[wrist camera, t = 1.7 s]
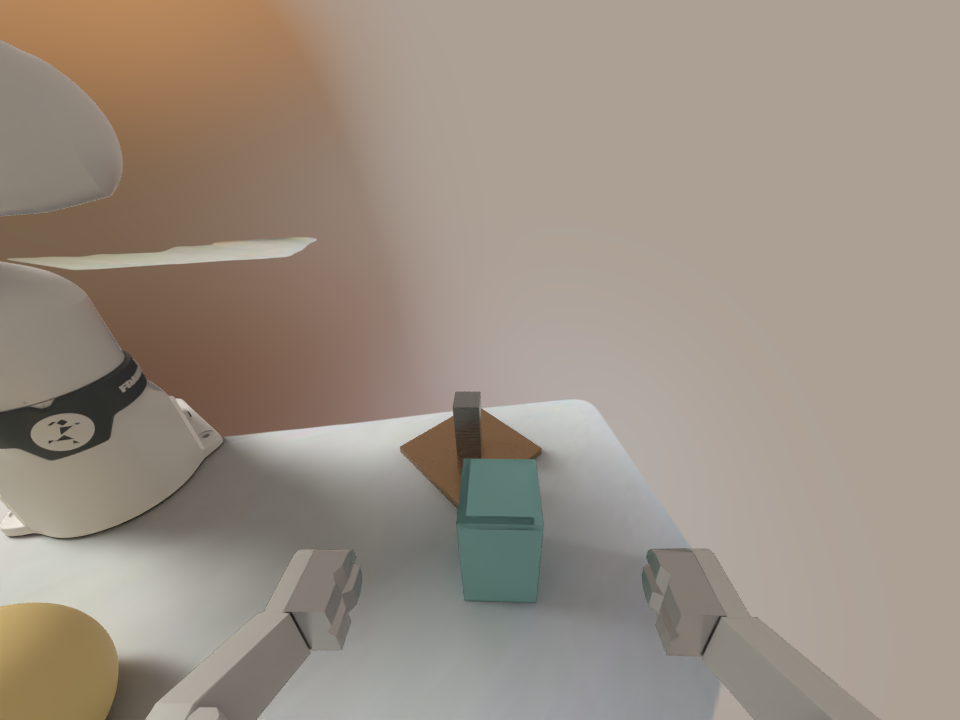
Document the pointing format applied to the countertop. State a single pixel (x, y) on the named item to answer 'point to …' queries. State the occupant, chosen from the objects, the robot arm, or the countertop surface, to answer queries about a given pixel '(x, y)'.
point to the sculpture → (55, 664)
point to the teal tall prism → (500, 529)
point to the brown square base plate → (464, 444)
